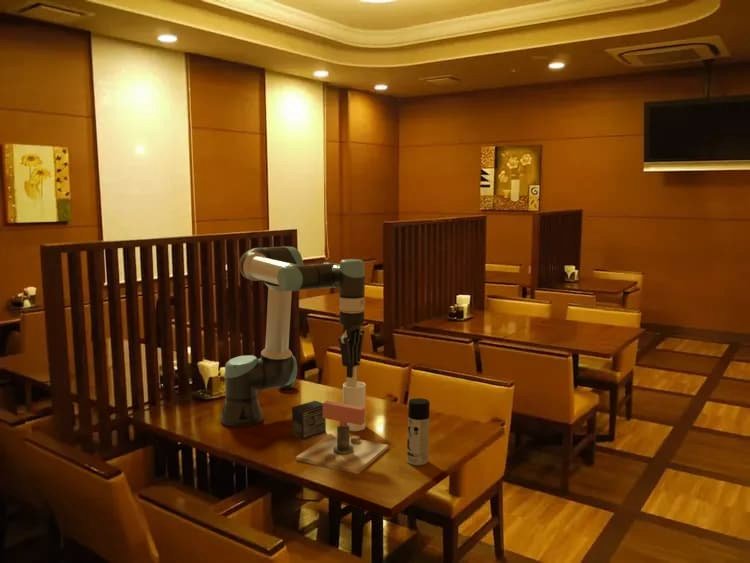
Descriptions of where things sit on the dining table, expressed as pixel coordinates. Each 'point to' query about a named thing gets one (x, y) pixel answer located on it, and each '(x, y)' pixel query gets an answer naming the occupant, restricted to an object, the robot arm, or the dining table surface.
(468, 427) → the dining table surface
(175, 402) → the dining table surface
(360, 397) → the cup
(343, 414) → the pink rectangular block
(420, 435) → the spray can
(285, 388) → the sphere
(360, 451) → the post board
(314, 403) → the small box
